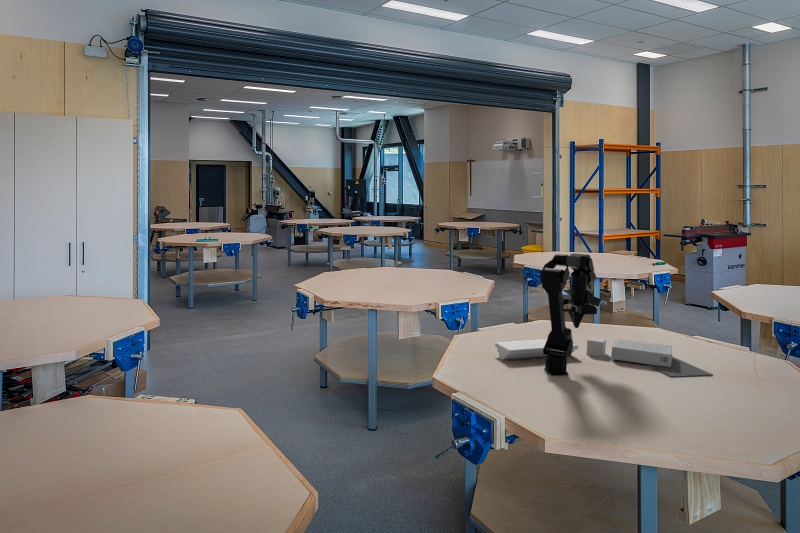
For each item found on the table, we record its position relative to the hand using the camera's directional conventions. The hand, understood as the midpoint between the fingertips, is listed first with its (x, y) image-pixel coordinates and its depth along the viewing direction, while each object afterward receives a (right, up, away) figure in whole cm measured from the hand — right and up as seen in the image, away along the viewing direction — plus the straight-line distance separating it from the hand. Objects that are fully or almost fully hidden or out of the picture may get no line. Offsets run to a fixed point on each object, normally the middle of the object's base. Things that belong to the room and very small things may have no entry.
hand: (576, 327), depth 214 cm
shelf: (-14, -12, +8) cm, 20 cm away
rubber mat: (+35, -14, -1) cm, 37 cm away
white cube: (+12, -12, +13) cm, 21 cm away
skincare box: (+24, -11, -2) cm, 26 cm away
